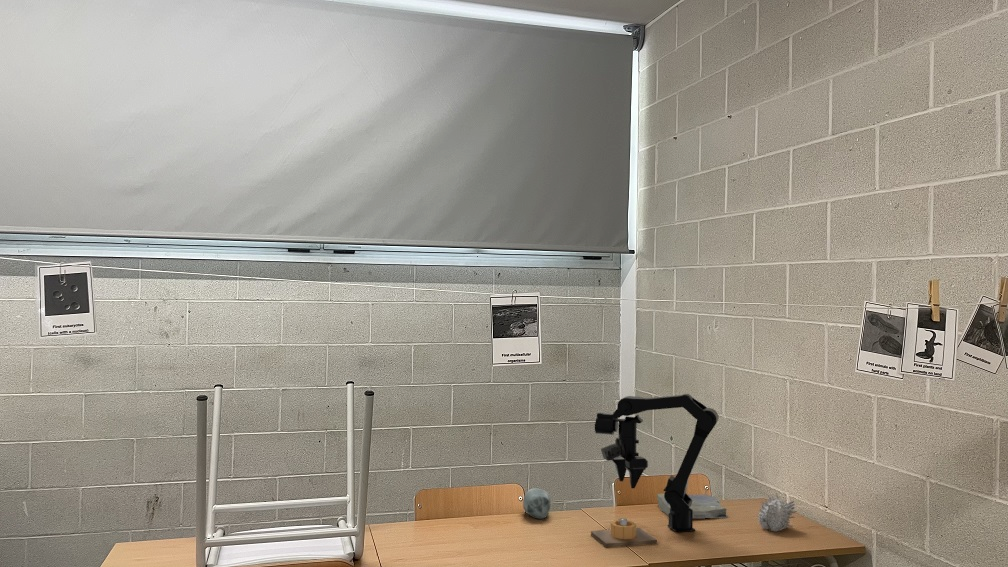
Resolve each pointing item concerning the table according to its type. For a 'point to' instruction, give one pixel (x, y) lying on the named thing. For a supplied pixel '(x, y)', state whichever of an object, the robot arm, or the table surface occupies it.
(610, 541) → the shelf board
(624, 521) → the hook post
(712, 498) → the fossil
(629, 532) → the tan wooden ring
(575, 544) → the table surface
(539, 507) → the grey rounded lump
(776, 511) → the sea urchin
